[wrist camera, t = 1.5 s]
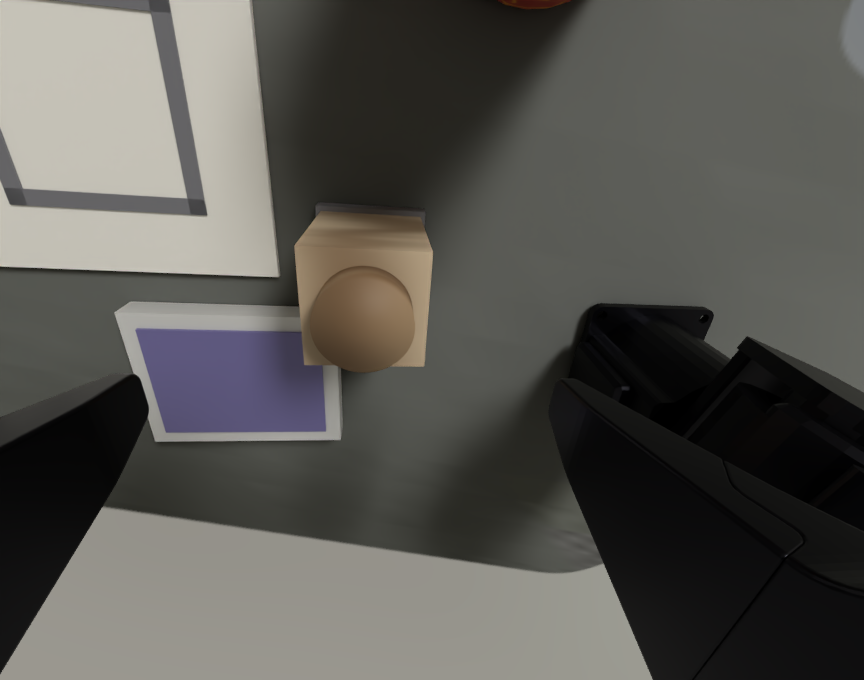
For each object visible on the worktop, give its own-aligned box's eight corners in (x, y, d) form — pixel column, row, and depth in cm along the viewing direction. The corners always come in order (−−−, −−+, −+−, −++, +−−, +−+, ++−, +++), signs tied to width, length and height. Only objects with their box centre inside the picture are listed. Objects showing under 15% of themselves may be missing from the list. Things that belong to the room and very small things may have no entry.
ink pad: (338, 307, 19) (335, 319, 18) (342, 424, 22) (340, 441, 21) (130, 301, 18) (112, 314, 17) (167, 425, 21) (153, 443, 20)
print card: (241, -103, 12) (237, -108, 12) (280, 274, 18) (278, 277, 18) (-230, -173, 11) (-249, -182, 10) (-27, 262, 16) (-35, 266, 16)
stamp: (424, 208, 17) (445, 257, 11) (417, 303, 19) (432, 391, 13) (318, 201, 17) (276, 250, 10) (323, 300, 19) (291, 391, 12)
